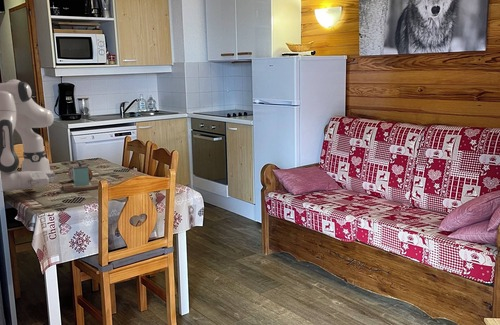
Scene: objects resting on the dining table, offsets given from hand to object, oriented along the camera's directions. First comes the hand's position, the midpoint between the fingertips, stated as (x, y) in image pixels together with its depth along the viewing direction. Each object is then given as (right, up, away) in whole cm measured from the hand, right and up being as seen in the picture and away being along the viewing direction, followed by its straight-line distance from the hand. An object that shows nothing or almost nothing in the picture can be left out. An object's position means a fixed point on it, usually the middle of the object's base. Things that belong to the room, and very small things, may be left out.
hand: (56, 176), depth 258 cm
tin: (+5, -3, +22) cm, 23 cm away
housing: (+11, -4, +7) cm, 13 cm away
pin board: (+11, -6, +7) cm, 14 cm away
